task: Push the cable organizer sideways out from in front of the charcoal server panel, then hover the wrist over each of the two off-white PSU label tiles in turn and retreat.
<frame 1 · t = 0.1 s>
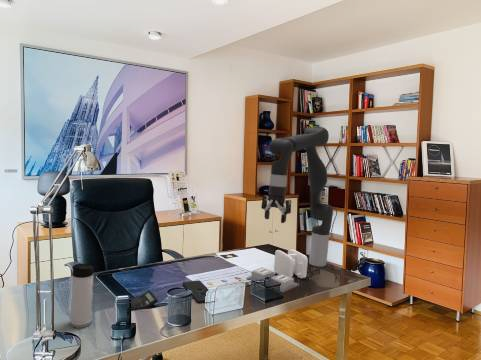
hand: (274, 220, 167), 29 cm above the table, fingers open, 8 cm apart
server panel: (272, 282, 172), on the table
cable organizer: (289, 276, 183), on the table
travel mug: (80, 324, 123), on the table
calculator: (138, 304, 140), on the table
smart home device: (198, 294, 155), on the table
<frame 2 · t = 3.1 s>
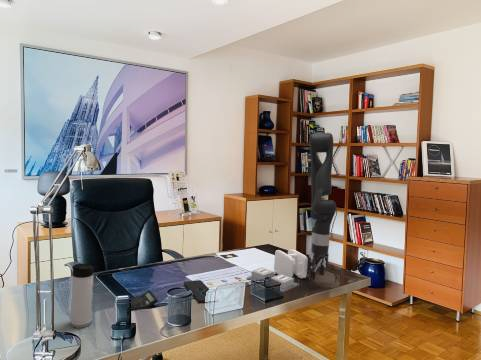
hand: (317, 277, 173), 4 cm above the table, fingers open, 8 cm apart
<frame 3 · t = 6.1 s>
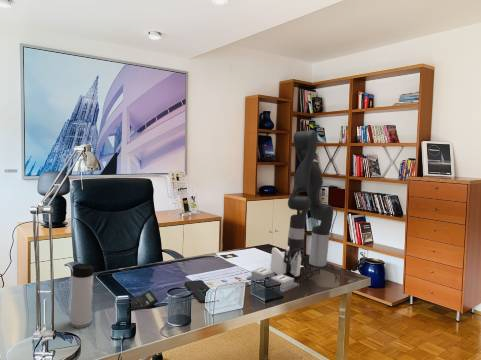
hand: (293, 269, 181), 4 cm above the table, fingers open, 8 cm apart
cable organizer: (284, 273, 185), on the table, touching gripper, hand
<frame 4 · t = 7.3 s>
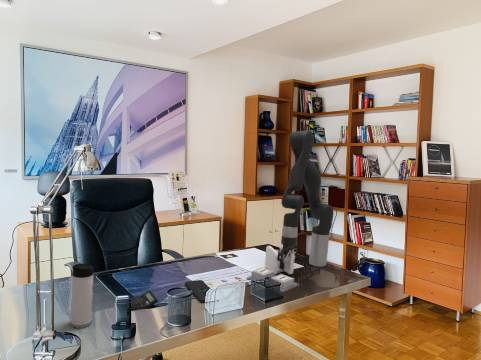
hand: (286, 267, 183), 4 cm above the table, fingers open, 8 cm apart
cable organizer: (278, 271, 188), on the table, touching gripper, hand
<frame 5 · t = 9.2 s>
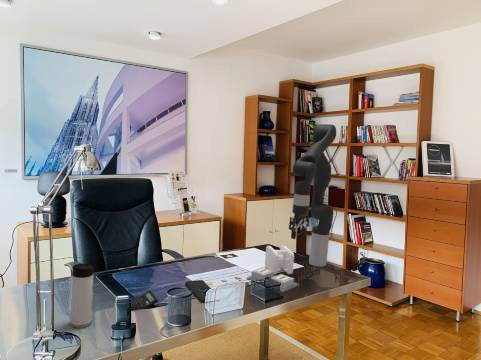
hand: (298, 237, 178), 20 cm above the table, fingers open, 8 cm apart
cable organizer: (278, 271, 188), on the table
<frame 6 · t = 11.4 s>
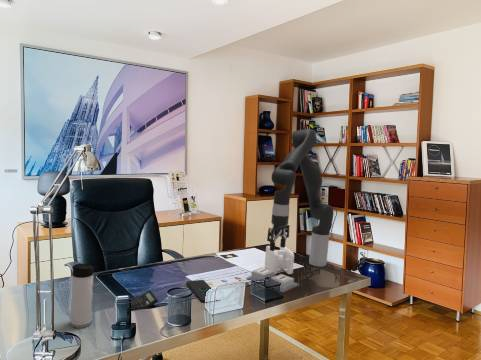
hand: (277, 248, 170), 16 cm above the table, fingers open, 8 cm apart
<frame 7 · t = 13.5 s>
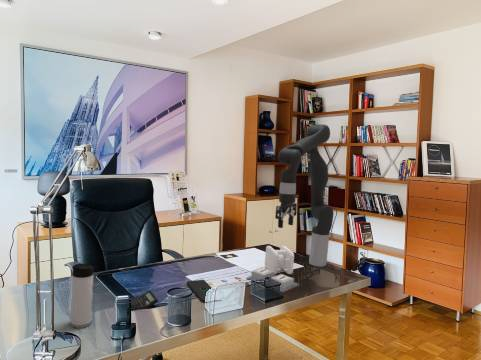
hand: (285, 226, 176), 25 cm above the table, fingers open, 8 cm apart
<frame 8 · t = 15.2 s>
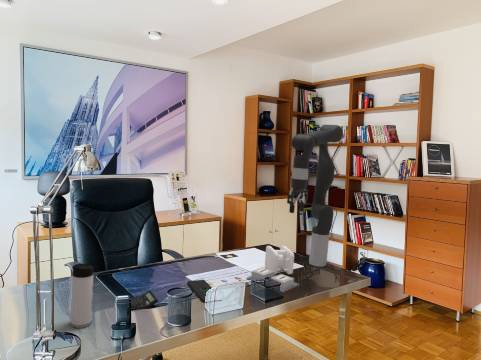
hand: (296, 212, 177), 32 cm above the table, fingers open, 8 cm apart
at the end: cable organizer moved 7.3 cm from its start; cable organizer inside the target area (9.3 cm from its centre), on the table; cable organizer tilted 0° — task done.
